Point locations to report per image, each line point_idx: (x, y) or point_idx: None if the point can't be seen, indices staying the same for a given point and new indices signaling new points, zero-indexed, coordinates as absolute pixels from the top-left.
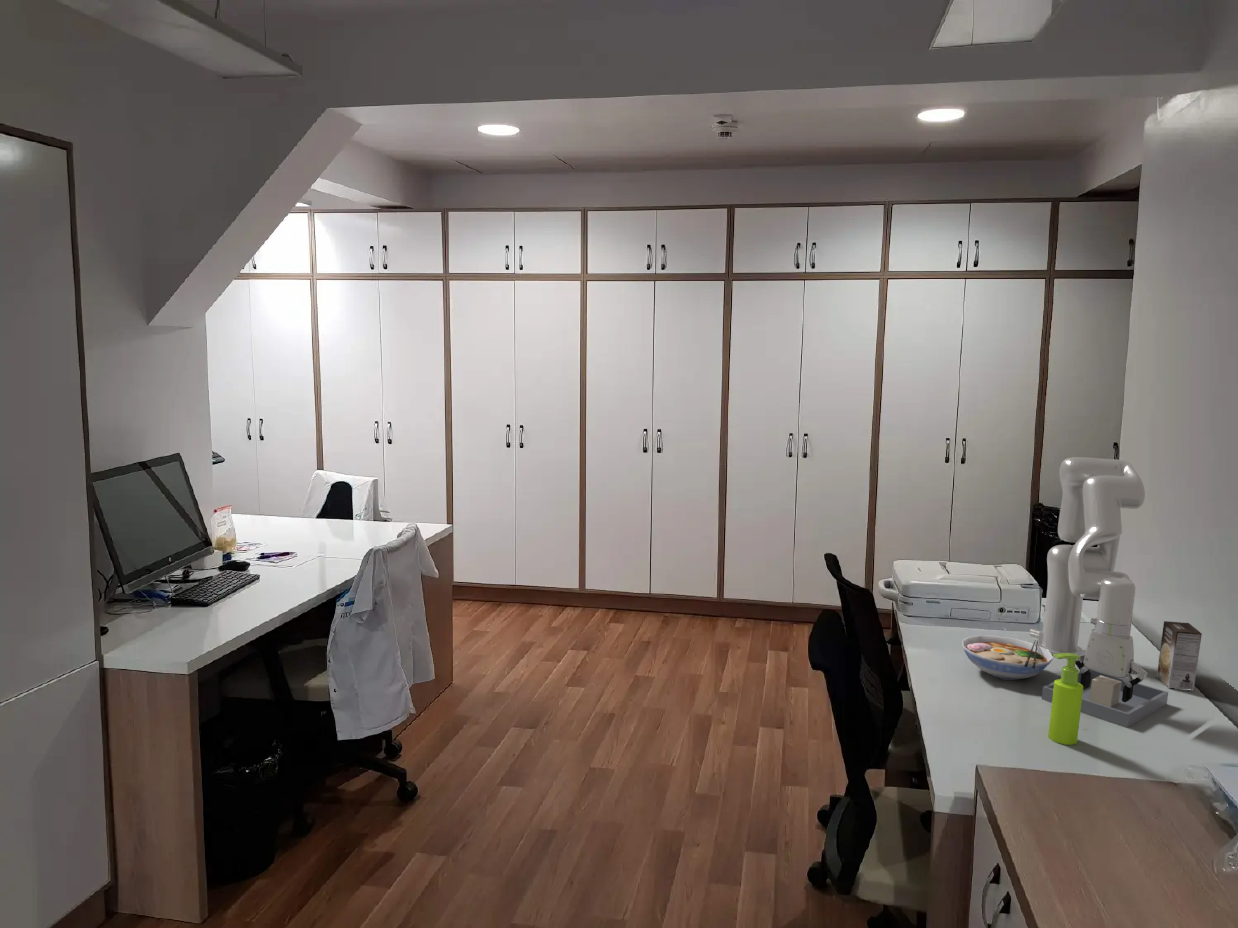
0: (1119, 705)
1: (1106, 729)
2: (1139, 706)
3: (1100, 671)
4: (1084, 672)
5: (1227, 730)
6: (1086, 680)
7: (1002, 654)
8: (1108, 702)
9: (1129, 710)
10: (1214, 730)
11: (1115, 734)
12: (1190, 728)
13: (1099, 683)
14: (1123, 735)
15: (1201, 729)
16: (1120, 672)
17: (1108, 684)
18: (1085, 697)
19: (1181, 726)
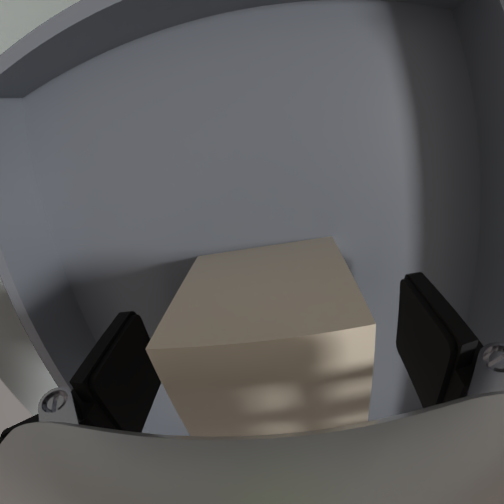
0: None
1: (64, 8)
2: (3, 265)
3: (283, 443)
4: (476, 360)
5: (20, 401)
6: (424, 333)
7: None
8: (207, 266)
9: (132, 308)
10: (15, 382)
11: (28, 15)
12: (18, 349)
13: (286, 326)
14: (12, 42)
15: (16, 365)
16: (8, 463)
17: (191, 349)
18: (371, 260)
19: (27, 343)
